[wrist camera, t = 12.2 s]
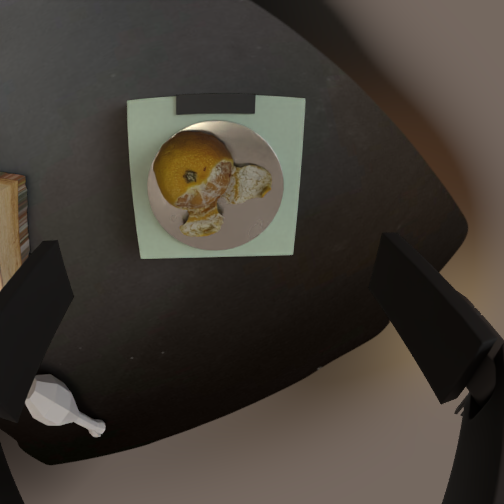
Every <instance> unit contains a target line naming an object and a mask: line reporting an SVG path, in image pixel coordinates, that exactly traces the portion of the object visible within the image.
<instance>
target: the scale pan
mask: <svg viewBox="0 0 504 504" xmlns="http://www.w3.org/2000/svg"><path fill="white" fill-rule="evenodd" d="M182 131H193V132H203V133H207V134H209V135H213V136H215V138H216V139H218V140H219V141H221V142H222V143H224V145H225V147H226V149H227V150H228V151H229V153H230V154H231V157H232V159H233V162H234V163H233V164H234V165H233V166H235V167H239V168H242V167H244V166H249V165H255V166H258V167H261V168H263V169H265V170H266V171H268V172H269V173H270V174H271V177H272V185H271V190H270V191H268V192H267V193H266V194H265V195H264V197H263V198H259V197H256V198H251V199H248V200H246V201H245V202H243V203H238V204H228V203H227V201H226V200H225V199H224V198H222V197H221V198H219V199H218V200H217V211H218V212H219V214H220V215H222V216H223V217H224V218H223V222H224V223H223V224H222V225H221V228H220V230H219V231H218V232H216V233H214V234H211V235H209V236H202V237H200V236H199V237H197V236H187V235H184V234H183V233H182V232H181V231H180V226H181V225H184V224H185V223H186V222H187V220H188V216H189V213H188V211H187V210H185V209H179V208H176V207H174V206H172V205H171V204H169V203H168V202H167V201H166V200H165V198H164V197H163V195H162V193H161V191H160V188H159V186H158V184H157V181H156V177H155V173H154V171H153V164H154V160H155V158H156V156H157V154H158V153H159V150H160V149H159V150H158V152H157V154H156V155H155V157H154V159H153V161H152V164H151V166H150V170H149V174H148V181H147V192H148V199H149V203H150V206H151V209H152V211H153V213H154V216H155V217H156V219H157V220H158V222H159V223H160V225H161V226H162V227H163V228H164V229H165V230H166V231H167V232H168V233H169V234H170V235H171V236H172V237H174V238H175V239H177V240H178V241H180V242H182V243H184V244H186V245H188V246H191V247H194V248H198V249H202V250H213V251H218V250H227V249H232V248H235V247H238V246H241V245H243V244H246V243H248V242H249V241H251V240H253V239H254V238H256V237H257V236H258V235H260V234H261V233H262V232H263V231H264V230H265V229H266V228H267V227H268V226H269V225H270V223H271V222H272V221H273V219H274V217H275V216H276V214H277V212H278V210H279V207H280V205H281V201H282V198H283V191H284V178H283V171H282V168H281V164H280V162H279V160H278V157H277V155H276V154H275V152H274V150H273V149H272V147H271V146H270V145H269V144H268V142H267V141H266V140H265V139H264V138H262V137H261V136H260V135H259V134H258V133H256V132H255V131H253V130H252V129H250V128H248V127H246V126H244V125H241V124H239V123H236V122H231V121H226V120H206V121H201V122H197V123H194V124H191V125H189V126H187V127H185V128H183V129H181V130H179V131H178V132H182ZM178 132H176V133H175V134H177V133H178ZM175 134H174V135H175ZM174 135H172V136H171V137H170V138H172V137H173V136H174ZM170 138H169V139H170ZM169 139H168V140H167V141H169ZM167 141H166V142H167Z"/></svg>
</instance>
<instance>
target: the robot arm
mask: <svg viewBox="0 0 504 504" xmlns="http://www.w3.org/2000/svg"><path fill="white" fill-rule="evenodd" d="M369 290H370V291H371V293H372V294H373V295H374V297H375V298H376V300H377V301H378V303H379V304H380V306H381V307H382V309H383V310H384V312H385V313H386V315H387V316H388V318H389V319H390V321H391V323H392V324H393V326H394V327H395V329H396V330H397V332H398V333H399V335H400V337H401V338H402V340H403V341H404V343H405V345H406V346H407V347H408V349H409V351H410V352H411V354H412V356H413V357H414V359H415V361H416V362H417V364H418V366H419V367H420V369H421V371H422V372H423V374H424V376H425V377H426V379H427V381H428V382H429V384H430V386H431V388H432V389H433V391H434V393H435V395H436V396H437V398H438V400H439V402H440V404H443V403H446V402H449V401H451V400H454V399H456V398H457V397H458V396H459V395H460V393H461V392H462V391H463V390H464V388H465V387H467V389H468V390H469V393H468V395H467V396H466V397H465V399H464V400H463V401H462V402H461V404H460V405H459V406H458V407H457V409H456V411H455V414H457V413H458V412H459V411H460V410H461V409H462V408H463V407H464V411H463V412H462V414H461V416H463V418H462V425H461V430H460V436H459V441H458V446H457V450H456V455H455V459H454V463H453V467H452V471H451V475H450V478H449V482H448V486H447V489H446V492H445V495H444V499H443V502H442V504H504V340H503V339H502V338H501V336H500V335H499V334H498V333H497V332H496V331H495V329H494V328H493V327H492V326H491V324H490V323H489V322H488V321H487V320H486V319H485V318H484V316H483V315H481V313H480V312H479V311H478V310H477V309H476V308H474V305H473V304H472V303H471V302H470V301H469V300H468V299H467V298H466V297H465V296H463V295H462V294H461V293H459V292H458V291H456V290H455V289H454V288H453V287H452V286H451V285H450V284H449V283H448V282H447V281H446V280H445V279H444V278H443V277H442V276H441V274H440V273H439V272H438V271H437V270H436V269H435V268H434V267H433V266H432V265H431V264H430V263H429V262H428V261H427V260H425V259H424V258H423V257H422V256H421V255H420V254H419V253H418V252H417V251H416V250H415V249H414V248H413V247H412V246H411V245H410V244H409V243H408V242H407V241H406V240H404V239H403V238H402V237H401V236H400V235H399V234H398V233H382V236H381V240H380V245H379V249H378V253H377V257H376V261H375V265H374V269H373V273H372V277H371V280H370V284H369ZM73 298H74V295H73V292H72V289H71V286H70V283H69V279H68V276H67V273H66V269H65V266H64V262H63V259H62V255H61V251H60V248H59V244H58V240H55V241H43V242H42V243H41V244H40V245H39V246H38V247H37V248H36V249H35V250H34V252H33V253H32V254H31V255H30V256H29V257H28V258H27V259H26V261H25V262H24V263H23V264H22V265H21V266H20V268H19V269H18V270H17V271H16V272H15V274H14V275H13V276H12V277H11V278H10V280H9V281H8V282H7V283H6V285H5V286H4V287H3V288H2V290H1V291H0V417H1V418H4V419H7V420H10V421H13V422H16V423H18V420H19V417H20V414H21V411H22V409H23V406H24V403H25V401H26V398H27V396H28V393H29V390H30V388H31V385H32V383H33V381H34V378H35V376H36V373H37V371H38V369H39V367H40V364H41V362H42V360H43V358H44V355H45V353H46V351H47V349H48V347H49V345H50V343H51V340H52V338H53V336H54V334H55V332H56V330H57V328H58V326H59V324H60V322H61V320H62V318H63V316H64V314H65V313H66V311H67V309H68V307H69V305H70V303H71V301H72V300H73ZM0 504H24V502H23V500H22V497H21V495H20V494H19V491H18V489H17V486H16V484H15V481H14V479H13V477H12V474H11V472H10V469H9V466H8V464H7V461H6V458H5V455H4V452H3V449H2V447H1V443H0Z"/></svg>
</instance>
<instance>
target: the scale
mask: <svg viewBox="0 0 504 504" xmlns="http://www.w3.org/2000/svg"><path fill="white" fill-rule="evenodd" d="M304 116H305V98H294V97H280V96H262V95H256V94H240V93H211V94H182V95H176V96H171V97H157V98H146V99H136V100H128V101H127V125H128V146H129V161H130V174H131V185H132V195H133V205H134V214H135V222H136V229H137V237H138V244H139V250H140V257H141V259H156V258H195V257H233V256H270V255H293V250H294V240H295V230H296V220H297V209H298V198H299V186H300V174H301V161H302V147H303V133H304ZM206 120H226V121H231V122H236V123H239V124H241V125H244V126H246V127H248V128H250V129H252V130H253V131H255V132H256V133H258V134H259V135H260V136H261V137H262V138H264V139H265V140H266V141H267V142H268V144H269V145H270V146H271V147H272V149H273V150H274V152H275V154H276V155H277V157H278V160H279V162H280V164H281V168H282V171H283V178H284V191H283V198H282V201H281V205H280V207H279V210H278V212H277V214H276V216H275V217H274V219H273V221H272V222H271V223H270V225H269V226H268V227H267V228H266V229H265V230H264V231H263V232H262V233H261V234H260V235H258V236H257V237H256V238H254V239H253V240H251V241H249V242H248V243H246V244H243V245H241V246H238V247H235V248H232V249H227V250H218V251H213V250H202V249H198V248H194V247H191V246H188V245H186V244H184V243H182V242H180V241H178V240H177V239H175V238H174V237H172V236H171V235H170V234H169V233H168V232H167V231H166V230H165V229H164V228H163V227H162V226H161V225H160V223H159V222H158V220H157V219H156V217H155V216H154V213H153V211H152V209H151V206H150V203H149V199H148V192H147V181H148V174H149V170H150V166H151V164H152V161H153V159H154V157H155V155H156V154H157V152H158V150H159V149H160V148H161V146H162V145H163V144H164V143H165V142H166V141H167V140H168V139H169V138H170V137H171V136H172V135H174V134H175V133H176V132H178V131H179V130H181V129H183V128H185V127H187V126H189V125H191V124H194V123H197V122H201V121H206Z"/></svg>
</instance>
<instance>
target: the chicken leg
mask: <svg viewBox="0 0 504 504" xmlns="http://www.w3.org/2000/svg"><path fill="white" fill-rule="evenodd" d="M25 404H26V406H27V408H28V410H29V411H30V413H31V415H32V417H33V418H35V419H37V420H38V421H40V422H42V423H44V424H46V425H63V424H67V423H71V422H75V423H77V424H79V425H81V426H83V427H85V428H87V429H89V433H90V434H91V435H92V436H94V437H100V436H101V435H100V434H102V433H103V432H104V431H105V423H104V422H103V421H102V420H100V419H95V420H94V419H92V418H90V417H88V416H87V415H85V414H83V413H81V412H79V411H78V408H77V406H76V403H75V400H74V398H73V395H72V393H71V391H70V390H69V389H68V388H67V386H66V385H65V384H64V383H63V382H61V381H60V380H58V379H57V378H55V377H54V376H53V375H51V374H45V375H36V376H35V378H34V381H33V383H32V385H31V388H30V390H29V393H28V396H27V398H26V401H25Z"/></svg>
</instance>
